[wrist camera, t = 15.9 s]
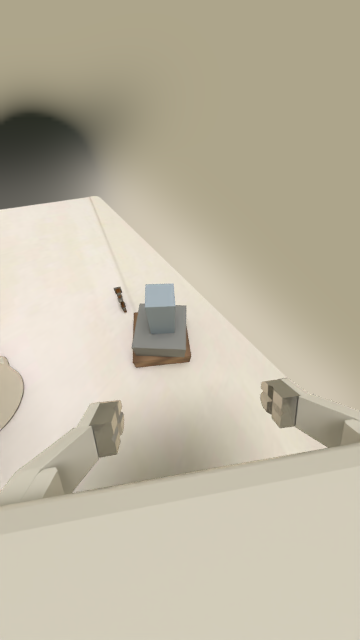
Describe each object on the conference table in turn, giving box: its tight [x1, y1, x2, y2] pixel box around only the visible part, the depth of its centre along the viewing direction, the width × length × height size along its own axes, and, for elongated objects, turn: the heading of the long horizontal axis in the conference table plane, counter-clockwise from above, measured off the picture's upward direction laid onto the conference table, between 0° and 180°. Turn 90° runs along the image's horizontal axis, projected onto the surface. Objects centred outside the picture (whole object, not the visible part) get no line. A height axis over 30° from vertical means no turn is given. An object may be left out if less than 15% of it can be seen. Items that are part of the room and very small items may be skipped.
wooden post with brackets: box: [114, 286, 127, 312], centre depth 46 cm, size 2×8×4 cm, turn 24°
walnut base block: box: [133, 313, 191, 368], centre depth 40 cm, size 12×12×4 cm
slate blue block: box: [145, 284, 175, 334], centre depth 30 cm, size 4×4×9 cm
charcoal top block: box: [132, 304, 186, 357], centre depth 36 cm, size 10×10×4 cm
